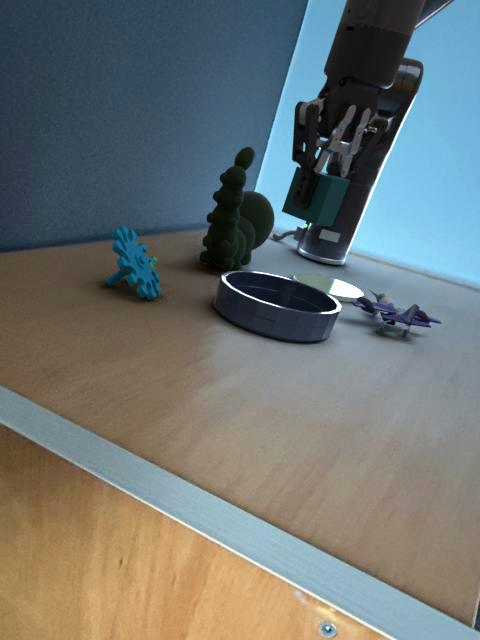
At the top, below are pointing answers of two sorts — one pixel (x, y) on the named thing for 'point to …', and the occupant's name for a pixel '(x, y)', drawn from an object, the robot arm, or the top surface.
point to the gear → (134, 264)
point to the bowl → (276, 306)
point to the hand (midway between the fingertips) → (310, 207)
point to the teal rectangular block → (318, 199)
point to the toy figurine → (236, 218)
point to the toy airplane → (394, 312)
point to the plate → (330, 286)
